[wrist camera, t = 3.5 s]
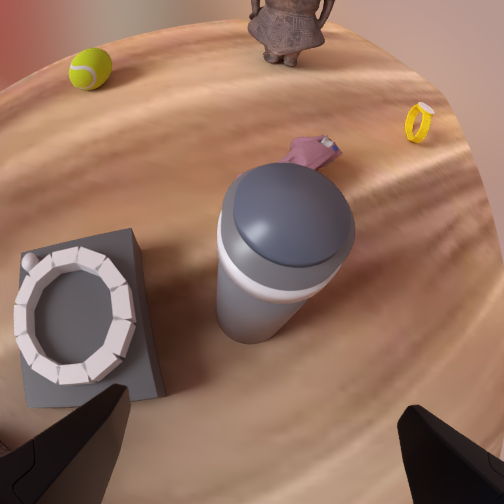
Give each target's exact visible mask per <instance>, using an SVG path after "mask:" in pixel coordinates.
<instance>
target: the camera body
mask: <svg viewBox="0 0 504 504" xmlns="http://www.w3.org/2000/svg"><path fill="white" fill-rule="evenodd" d="M15 303H17V304H19V305H14V336H16V337H17V338H16V339H15V340H16V342H17V344H18V346H19V348H20V355H21V366H22V375H23V383H24V390H25V396H26V402H27V408H68V407H80V406H82V405H83V404H85V403H86V402H88V401H89V400H90V399H92V398H93V397H95V396H96V395H98V394H99V393H101V392H102V391H103V390H105V389H106V388H108V387H109V386H111V385H112V384H114V383H118V384H122V385H126V386H127V387H128V389H129V396H130V402H134V401H141V400H148V399H155V398H161V397H166V393H165V389H164V384H163V380H162V376H161V372H160V367H159V362H158V358H157V353H156V348H155V343H154V338H153V333H152V327H151V322H150V316H149V310H148V303H147V297H146V290H145V283H144V276H143V268H142V260H141V251H140V248H139V245H138V243H137V241H136V238H135V236H134V233H133V231H132V228H128V229H123V230H118V231H113V232H109V233H104V234H99V235H95V236H90V237H86V238H81V239H77V240H72V241H68V242H64V243H59V244H55V245H51V246H47V247H43V248H39V249H35V250H31V251H27V252H23V253H21V264H20V278H19V293H18V295H17V298H16V300H15Z"/></svg>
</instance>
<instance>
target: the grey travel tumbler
mask: <svg viewBox="0 0 504 504" xmlns="http://www.w3.org/2000/svg"><path fill="white" fill-rule="evenodd" d="M354 239H355V222H354V218H353V214H352V211H351V209H350V207H349V205H348V203H347V201H346V199H345V198H344V196H343V194H342V193H341V192H340V190H339V189H338V188H337V187H336V186H335V184H334V183H332V182H331V181H330V180H329V179H328V178H326V177H325V176H324V175H322V174H321V173H319V172H317V171H315V170H313V169H311V168H308V167H306V166H302V165H299V164H294V163H271V164H267V165H263V166H259V167H256V168H253V169H251V170H249V171H247V172H245V173H243V174H242V175H241V176H239V177H238V178H237V179H236V180H235V181H234V182H233V183H232V184H231V186H230V187H229V189H228V190H227V192H226V194H225V197H224V200H223V206H222V211H221V214H220V217H219V221H218V231H217V251H218V256H219V261H218V278H217V296H216V317H217V321H218V323H219V326H220V327H221V329H222V330H223V331H224V333H225V334H226V335H227V336H229V337H230V338H231V339H233V340H235V341H237V342H240V343H244V344H257V343H261V342H264V341H266V340H268V339H269V338H271V337H272V336H273V335H274V334H275V333H276V332H277V331H278V330H279V329H280V328H281V327H282V326H283V325H284V324H285V323H286V322H287V321H288V320H289V319H290V318H291V317H292V316H293V315H294V314H295V313H296V312H297V311H298V310H299V309H300V308H301V307H302V306H303V305H304V304H305V303H306V302H307V301H308V300H309V298H310V297H312V296H313V295H315V294H316V293H318V292H319V291H320V290H321V289H322V288H323V287H324V286H325V285H326V284H327V283H328V282H329V281H330V280H331V279H332V278H333V277H334V276H335V275H336V273H337V272H338V271H339V269H340V267H341V265H342V263H343V261H344V260H345V259H346V258H347V256H348V255H349V253H350V251H351V249H352V246H353V243H354Z"/></svg>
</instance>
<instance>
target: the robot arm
mask: <svg viewBox="0 0 504 504" xmlns="http://www.w3.org/2000/svg"><path fill="white" fill-rule="evenodd" d="M130 408H131V403H130V396H129V389H128V387H127V386H126V385H122V384H118V383H114V384H112V385H111V386H109V387H108V388H106V389H105V390H103V391H102V392H101V393H99V394H98V395H96V396H95V397H93V398H92V399H90V400H89V401H88V402H86V403H85V404H83V405H82V406H80V407H79V408H77V409H76V410H74V411H73V412H71V413H70V414H68V415H67V416H66V417H64V418H63V419H61V420H60V421H58V422H57V423H55V424H54V425H52V426H51V427H49V428H48V429H46V430H45V431H43V432H42V433H40V434H39V435H37V436H36V437H34V440H33V439H31V440H29V441H28V442H26V443H25V444H23V445H21V446H20V447H18V448H16V449H15V450H13V451H11V452H9V453H7V454H5V455H3V456H1V457H0V504H101V503H102V500H103V497H104V494H105V491H106V488H107V485H108V483H109V480H110V477H111V474H112V472H113V469H114V466H115V464H116V461H117V458H118V456H119V453H120V449H121V445H122V441H123V437H124V433H125V429H126V425H127V421H128V417H129V413H130ZM397 429H398V435H399V440H400V446H401V452H402V458H403V463H404V467H405V471H406V475H407V479H408V483H409V487H410V491H411V495H412V499H413V504H504V462H503V461H502V460H500V459H498V458H497V457H495V456H494V455H492V454H491V453H489V452H487V451H486V450H485V449H483V448H482V447H480V446H479V445H477V444H476V443H474V442H473V441H471V440H470V439H468V438H467V437H465V436H464V435H462V434H461V433H459V432H458V431H456V430H455V429H453V428H452V427H451V426H449V425H448V424H446V423H445V422H443V421H442V420H440V419H439V418H438V417H436V416H435V415H433V414H432V413H430V412H429V411H427V410H426V409H425V408H423V407H422V406H420V405H410V406H408V407H407V408H406V410H405V411H404V413H403V414H402V416H401V417H400V419H399V420H398V423H397Z"/></svg>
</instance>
